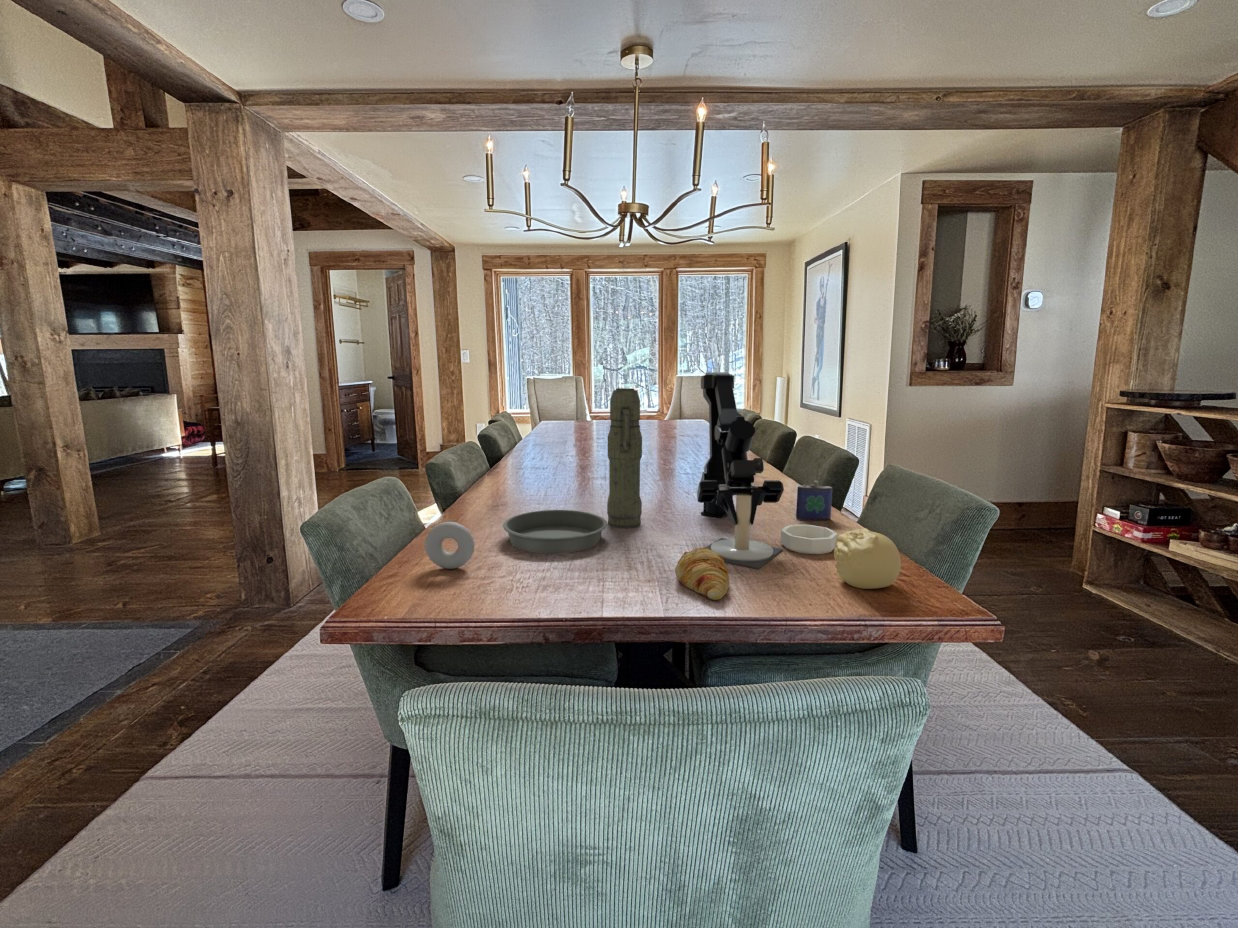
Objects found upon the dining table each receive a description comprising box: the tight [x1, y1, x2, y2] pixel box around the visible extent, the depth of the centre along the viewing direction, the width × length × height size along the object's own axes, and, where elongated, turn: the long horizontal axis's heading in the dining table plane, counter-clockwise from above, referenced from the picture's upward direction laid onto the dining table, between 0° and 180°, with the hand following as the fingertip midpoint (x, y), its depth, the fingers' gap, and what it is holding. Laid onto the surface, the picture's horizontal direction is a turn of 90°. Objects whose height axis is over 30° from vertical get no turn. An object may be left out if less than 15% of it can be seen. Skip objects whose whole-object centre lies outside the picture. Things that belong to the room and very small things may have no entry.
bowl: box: [779, 523, 839, 555], centre depth 142 cm, size 12×12×4 cm
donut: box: [424, 521, 475, 570], centre depth 127 cm, size 10×3×10 cm, turn 92°
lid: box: [711, 494, 773, 562], centre depth 137 cm, size 14×14×13 cm
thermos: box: [606, 387, 643, 529], centre depth 159 cm, size 9×12×35 cm
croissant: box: [674, 547, 730, 601], centre depth 120 cm, size 21×10×8 cm, turn 10°
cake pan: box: [502, 509, 608, 554], centre depth 147 cm, size 25×25×4 cm
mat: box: [704, 537, 784, 570], centre depth 138 cm, size 15×15×1 cm
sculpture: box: [833, 527, 902, 590], centre depth 119 cm, size 11×12×11 cm
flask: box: [795, 479, 833, 521], centre depth 166 cm, size 9×3×11 cm, turn 88°
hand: (744, 524), depth 135 cm, fingers closed on lid, 3 cm apart
